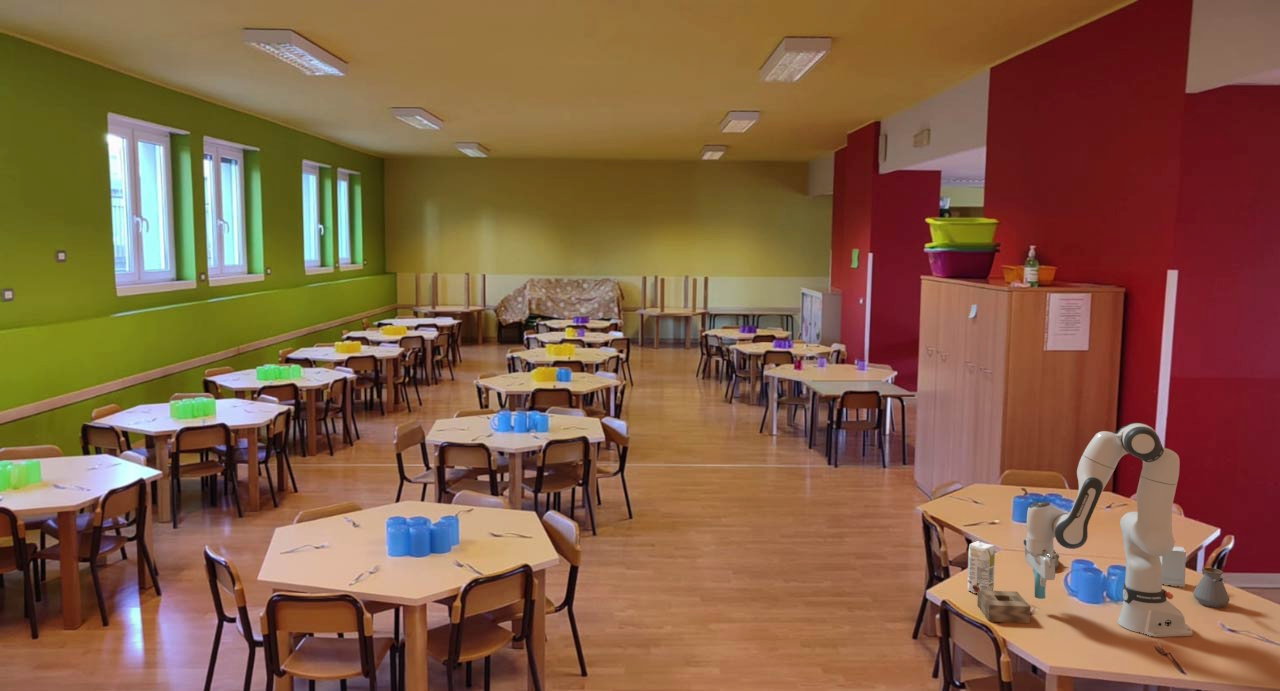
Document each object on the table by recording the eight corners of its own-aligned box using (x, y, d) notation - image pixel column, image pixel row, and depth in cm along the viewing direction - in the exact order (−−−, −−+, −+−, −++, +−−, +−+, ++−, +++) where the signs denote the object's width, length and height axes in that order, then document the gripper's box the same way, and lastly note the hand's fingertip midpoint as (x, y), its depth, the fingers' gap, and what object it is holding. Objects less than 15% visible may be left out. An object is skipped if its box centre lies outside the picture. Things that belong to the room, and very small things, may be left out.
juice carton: (985, 597, 327) (987, 549, 325) (964, 591, 334) (966, 543, 332) (995, 592, 332) (997, 545, 330) (974, 586, 338) (976, 539, 337)
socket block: (1016, 607, 318) (1017, 591, 317) (1029, 622, 304) (1030, 606, 303) (977, 605, 319) (977, 590, 319) (988, 621, 305) (989, 605, 305)
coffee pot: (1189, 595, 329) (1192, 557, 327) (1225, 600, 324) (1228, 562, 323) (1200, 616, 309) (1203, 576, 308) (1238, 622, 305) (1241, 581, 303)
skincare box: (1182, 583, 342) (1184, 546, 340) (1185, 588, 336) (1187, 551, 335) (1157, 580, 345) (1160, 544, 344) (1160, 585, 340) (1162, 548, 338)
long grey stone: (1053, 551, 385) (1029, 549, 388) (1053, 539, 385) (1028, 538, 388) (1062, 573, 352) (1035, 571, 356) (1061, 560, 352) (1035, 558, 355)
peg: (1043, 595, 315) (1043, 563, 314) (1046, 598, 311) (1046, 566, 310) (1033, 595, 315) (1033, 563, 314) (1036, 598, 312) (1036, 566, 311)
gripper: (1060, 555, 301) (1060, 593, 302) (1038, 537, 321) (1039, 573, 323) (1041, 555, 302) (1041, 594, 303) (1021, 537, 322) (1021, 573, 323)
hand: (1040, 583), depth 313 cm, fingers closed on peg, 4 cm apart
